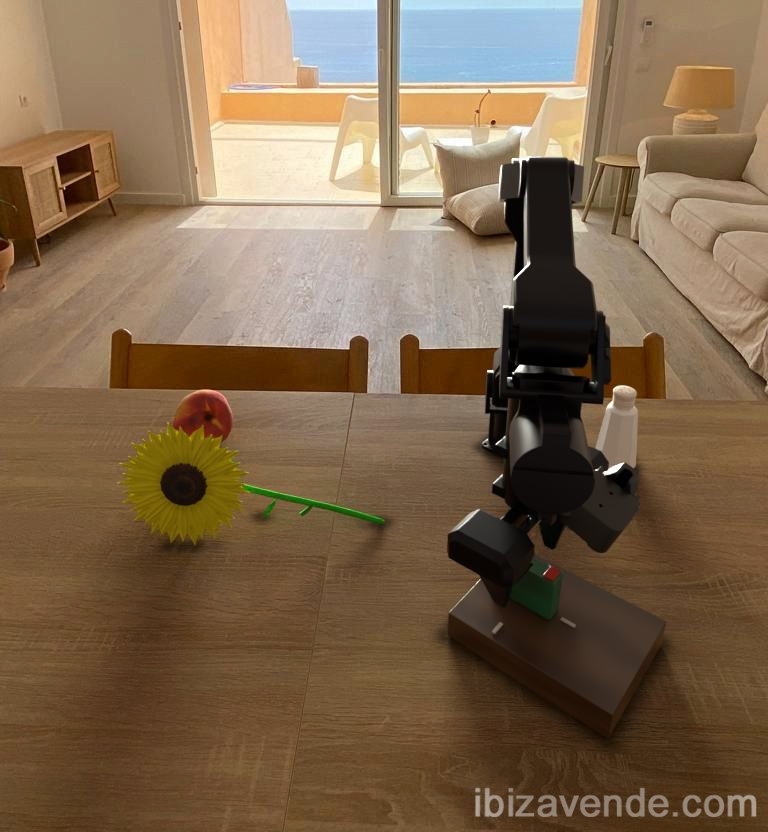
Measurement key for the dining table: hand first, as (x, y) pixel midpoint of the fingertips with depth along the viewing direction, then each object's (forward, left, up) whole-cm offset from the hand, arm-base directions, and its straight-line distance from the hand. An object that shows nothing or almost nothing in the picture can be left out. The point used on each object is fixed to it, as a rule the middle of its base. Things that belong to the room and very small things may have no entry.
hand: (526, 574), depth 65 cm
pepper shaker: (-4, +30, -6) cm, 31 cm away
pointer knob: (0, 0, -3) cm, 3 cm away
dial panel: (+3, 0, -6) cm, 7 cm away
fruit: (-49, -1, -6) cm, 49 cm away
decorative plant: (-30, -8, -6) cm, 31 cm away
